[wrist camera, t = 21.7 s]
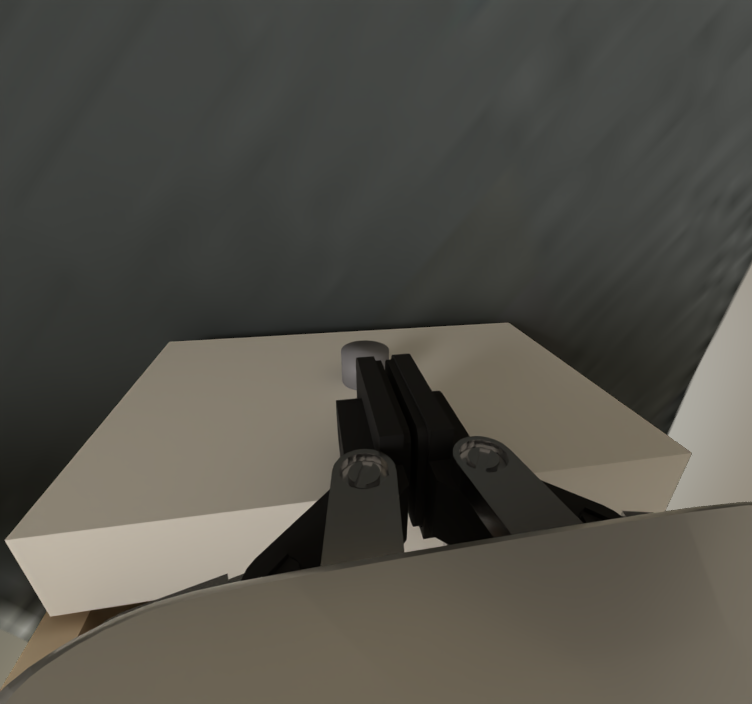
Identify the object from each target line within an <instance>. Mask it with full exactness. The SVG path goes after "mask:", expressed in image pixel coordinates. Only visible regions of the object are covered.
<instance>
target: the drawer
mask: <svg viewBox="0 0 752 704" xmlns="http://www.w3.org/2000/svg"><path fill="white" fill-rule="evenodd" d="M396 354H410V355H411V356H412V358H413V360H414V362H415V363H416V365H417V367H418V368H419V370H420V372H421V373H422V375H423V377H424V378H425V380H426V382H427V383H428V385H429V387H430V388H431V390H432V391H441V392H442V393H443V395H444V396H445V398H446V400H447V401H448V403H449V404H450V406H451V407H452V409H453V411H454V412H455V414H456V415H457V417H458V419H459V420H460V422H461V423H462V425H463V426H464V428H465V430H466V431H467V433H468V434H469V436H470V437H471V436H483V437H488V438H492V439H495V440H497V441H499V442H501V443H503V444H504V445H505V446H507V447H508V448H509V449H510V450H511V451H512V452H513V453H514V454H515V455H516V456H517V457H518V458H519V459H520V460H521V461H522V462H523V463H524V464H525V465H526V466H527V467H528V468H529V469H530V470H531V471H532V472H533V473H534V474H535V475H536V476H537V477H538V478H539V479H540V480H542V481H545V482H547V483H549V484H552V485H554V486H557V487H559V488H562V489H564V490H567V491H569V492H572V493H574V494H577V495H579V496H582V497H584V498H587V499H589V500H592V501H594V502H597V503H599V504H602V505H604V506H606V507H608V508H610V509H612V510H614V511H615V512H617V513H618V514H619V515H621V513H622V511H635V512H653V513H656V512H664V511H666V508H667V506H668V504H669V502H670V500H671V498H672V495H673V493H674V491H675V489H676V487H677V485H678V483H679V480H680V478H681V476H682V474H683V472H684V469H685V467H686V465H687V463H688V461H689V459H690V457H691V455H692V453H691V452H690V451H689V450H687V449H686V448H684V447H683V446H681V445H680V444H679V443H677V442H676V441H674V440H673V439H672V438H670V437H669V436H667V435H666V434H665V433H663V432H662V431H660V430H659V429H658V428H656V427H655V426H653V425H652V424H651V423H649V422H648V421H646V420H645V419H643V418H642V417H641V416H639V415H638V414H636V413H635V412H634V411H632V410H631V409H629V408H628V407H627V406H625V405H624V404H622V403H621V402H620V401H618V400H617V399H615V398H614V397H613V396H611V395H610V394H608V393H607V392H606V391H604V390H603V389H601V388H600V387H598V386H597V385H596V384H594V383H593V382H591V381H590V380H589V379H587V378H586V377H584V376H583V375H582V374H580V373H579V372H577V371H576V370H575V369H573V368H572V367H570V366H569V365H568V364H566V363H565V362H563V361H562V360H560V359H559V358H558V357H556V356H555V355H553V354H552V353H551V352H549V351H548V350H546V349H545V348H544V347H542V346H541V345H539V344H538V343H537V342H535V341H534V340H532V339H531V338H530V337H528V336H527V335H525V334H524V333H523V332H521V331H520V330H518V329H517V328H515V327H514V326H513V325H511V324H510V323H492V324H474V325H457V326H439V327H422V328H404V329H387V330H369V331H351V332H334V333H316V334H299V335H281V336H264V337H246V338H229V339H211V340H194V341H176V342H169V343H168V344H167V345H166V346H165V348H164V349H163V350H162V351H161V352H160V354H159V355H158V356H157V357H156V359H155V360H154V361H153V362H152V363H151V365H150V366H149V367H148V368H147V369H146V371H145V372H144V373H143V374H142V375H141V377H140V378H139V379H138V380H137V381H136V383H135V384H134V385H133V386H132V387H131V389H130V390H129V391H128V392H127V393H126V395H125V396H124V397H123V398H122V399H121V401H120V402H119V403H118V404H117V405H116V407H115V408H114V409H113V410H112V411H111V413H110V414H109V415H108V416H107V418H106V419H105V420H104V421H103V422H102V424H101V425H100V426H99V427H98V428H97V430H96V431H95V432H94V433H93V434H92V436H91V437H90V438H89V439H88V440H87V442H86V443H85V444H84V445H83V446H82V448H81V449H80V450H79V451H78V452H77V454H76V455H75V456H74V457H73V458H72V460H71V461H70V462H69V463H68V464H67V466H66V467H65V468H64V469H63V470H62V472H61V473H60V474H59V475H58V477H57V478H56V479H55V480H54V481H53V483H52V484H51V485H50V486H49V487H48V489H47V490H46V491H45V492H44V493H43V495H42V496H41V497H40V498H39V499H38V501H37V502H36V503H35V504H34V505H33V507H32V508H31V509H30V510H29V511H28V513H27V514H26V515H25V516H24V517H23V519H22V520H21V521H20V522H19V523H18V525H17V526H16V527H15V528H14V530H13V531H12V532H11V533H10V534H9V536H8V537H7V538H6V539H5V542H6V544H7V545H8V547H9V549H10V550H11V552H12V554H13V555H14V557H15V559H16V560H17V562H18V564H19V565H20V567H21V569H22V570H23V572H24V574H25V575H26V577H27V579H28V580H29V582H30V584H31V585H32V587H33V589H34V590H35V592H36V594H37V595H38V597H39V599H40V600H41V602H42V604H43V605H44V607H45V609H46V610H47V612H48V614H49V615H50V617H51V616H58V615H64V614H70V613H77V612H83V611H89V610H96V609H102V608H108V607H115V606H121V605H127V604H134V603H140V602H146V601H153V600H157V599H159V598H162V597H165V596H167V595H170V594H173V593H176V592H178V591H181V590H184V589H186V588H189V587H192V586H195V585H197V584H200V583H203V582H205V581H208V580H211V579H214V578H216V577H219V576H222V575H225V574H227V573H228V577H229V579H231V578H233V577H236V576H239V575H241V574H244V573H245V571H246V569H247V568H248V566H249V565H250V564H251V563H252V562H253V560H254V559H255V558H256V557H257V556H258V555H259V554H261V553H262V552H263V551H264V550H265V549H266V548H267V547H268V546H269V545H270V544H271V543H272V542H273V541H275V540H276V539H277V538H278V537H279V536H280V535H281V534H282V533H283V532H284V531H285V530H286V529H287V528H289V527H290V526H291V525H292V524H293V523H294V522H295V521H296V520H297V519H298V518H299V517H300V516H301V515H303V514H304V513H305V512H306V511H307V510H308V509H309V508H310V507H311V506H312V505H313V504H314V503H315V502H317V501H318V500H319V499H320V498H321V497H322V496H323V495H324V494H325V493H326V492H327V491H328V490H329V489H330V483H331V475H332V469H333V466H334V464H335V462H336V461H337V460H338V459H339V458H340V451H339V442H338V430H337V415H336V400H345V399H355V398H357V385H356V358H358V357H370V356H374V358H375V360H376V361H377V360H381V362H382V364H383V366H384V369H385V361H386V360H390V359H391V356H392V355H396ZM440 546H443V542H442V541H441V540H439V539H437V538H428V539H423V537H422V534H421V531H420V528H419V526H416V527H413V526H412V524H411V521H410V518H409V514H408V526H407V540H406V541H405V543H404V552H410V551H416V550H422V549H428V548H434V547H440Z"/></svg>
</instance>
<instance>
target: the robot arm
mask: <svg viewBox="0 0 752 704" xmlns="http://www.w3.org/2000/svg"><path fill="white" fill-rule="evenodd" d="M356 385H357V398H355V399H345V400H336V415H337V430H338V442H339V451H340V458H339V459H338V460H337V461H336V462H335V464H334V466H333V469H332V475H331V483H330V489H329V490H328V491H327V492H326V493H325V494H324V495H323V496H322V497H321V498H320V499H319V500H318V501H317V502H315V503H314V504H313V505H312V506H311V507H310V508H309V509H308V510H307V511H306V512H305V513H304V514H303V515H301V516H300V517H299V518H298V519H297V520H296V521H295V522H294V523H293V524H292V525H291V526H290V527H289V528H287V529H286V530H285V531H284V532H283V533H282V534H281V535H280V536H279V537H278V538H277V539H276V540H275V541H273V542H272V543H271V544H270V545H269V546H268V547H267V548H266V549H265V550H264V551H263V552H262V553H261V554H259V555H258V556H257V557H256V558H255V559H254V560H253V562H252V563H251V564H250V565H249V566H248V568H247V569H246V571H245V573H244V574H241V575H239V576H236V577H233V578H231V579H229V577H228V573H227V574H225V575H222V576H219V577H216V578H214V579H211V580H208V581H205V582H203V583H200V584H197V585H195V586H192V587H189V588H186V589H184V590H181V591H178V592H176V593H173V594H170V595H167V596H165V597H162V598H159V599H157V600H154V601H151V602H148V603H146V604H143V605H140V606H138V607H135V608H132V609H129V610H127V611H124V612H121V613H119V614H118V615H116V616H114V617H112V618H110V619H108V620H106V621H105V622H103V623H102V624H101V625H100V626H98V627H96V628H94V629H92V630H90V631H88V632H86V633H84V634H82V635H80V636H78V637H76V638H74V639H72V640H71V641H69V642H67V643H66V644H64V645H62V646H61V647H59V648H57V649H56V650H54V651H52V652H51V653H49V654H48V655H46V656H45V657H43V658H42V659H40V660H39V661H37V662H36V663H34V664H33V665H31V666H30V667H29V668H27V669H26V670H25V671H24V672H22V673H21V674H20V675H19V676H17V677H16V678H15V679H14V680H12V681H11V682H10V683H9V684H7V685H6V686H5V687H4V688H3V689H2V690H1V691H0V704H752V502H737V503H728V504H720V505H712V506H711V505H710V506H701V507H693V508H685V509H678V510H671V511H664V512H656V513H653V512H635V511H622V513H621V515H619V514H618V513H617V512H615V511H614V510H612V509H610V508H608V507H606V506H604V505H602V504H599V503H597V502H594V501H592V500H589V499H587V498H584V497H582V496H579V495H577V494H574V493H572V492H569V491H567V490H564V489H562V488H559V487H557V486H554V485H552V484H549V483H547V482H545V481H542V480H540V479H539V478H538V477H537V476H536V475H535V474H534V473H533V472H532V471H531V470H530V469H529V468H528V467H527V466H526V465H525V464H524V463H523V462H522V461H521V460H520V459H519V458H518V457H517V456H516V455H515V454H514V453H513V452H512V451H511V450H510V449H509V448H508V447H507V446H505V445H504V444H503V443H501V442H499V441H497V440H495V439H492V438H488V437H483V436H471V437H470V436H469V434H468V433H467V431H466V430H465V428H464V426H463V425H462V423H461V422H460V420H459V419H458V417H457V415H456V414H455V412H454V411H453V409H452V407H451V406H450V404H449V403H448V401H447V400H446V398H445V396H444V395H443V393H442V392H441V391H432V390H431V388H430V387H429V385H428V383H427V382H426V380H425V378H424V377H423V375H422V373H421V372H420V370H419V368H418V367H417V365H416V363H415V362H414V360H413V358H412V356H411V355H410V354H396V355H392V356H391V359H390V360H386V361H385V369H384V366H383V364H382V362H381V360H377V361H376V360H375V358H374V356H370V357H358V358H356ZM408 514H409V518H410V521H411V524H412V526H413V527H416V526H419V528H420V531H421V534H422V537H423V539H428V538H437V539H439V540H441V541H442V542H443V546H440V547H434V548H428V549H422V550H416V551H410V552H404V543H405V541H406V540H407V526H408Z"/></svg>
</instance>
